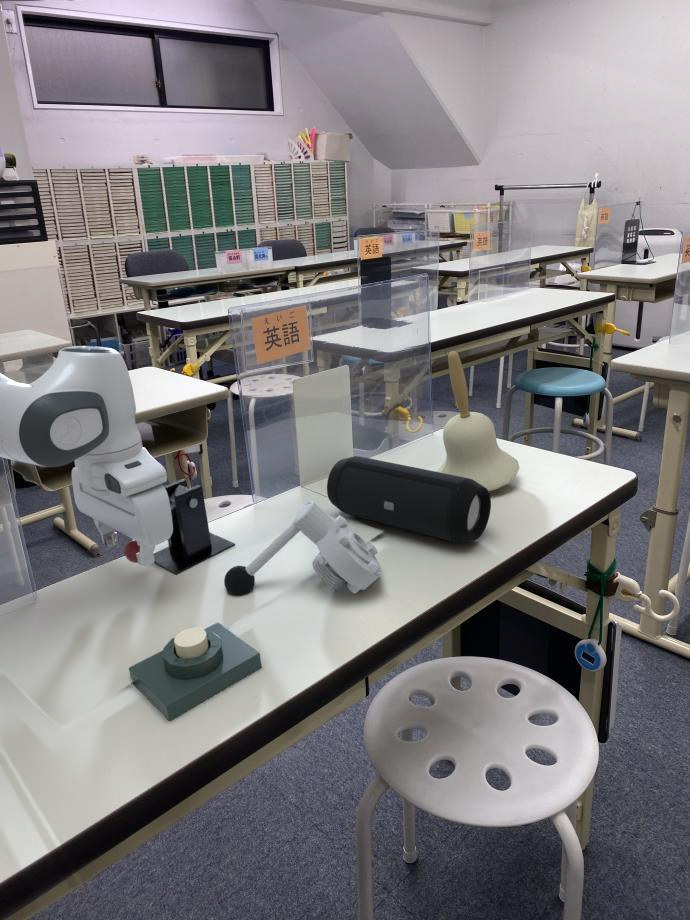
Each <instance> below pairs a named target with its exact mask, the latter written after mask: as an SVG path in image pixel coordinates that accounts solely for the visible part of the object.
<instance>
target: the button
mask: <svg viewBox="0 0 690 920" xmlns="http://www.w3.org/2000/svg"><path fill="white" fill-rule="evenodd" d="M174 637H175V638H174ZM174 637H173V638H174V643H175V648H176V653H177V656H178V657H180V658H182V659H192V658H198V657H199V656H201V655H203V654H205V653H206V652H207V650H208V640H207V635H206V632H205V631H204V628H200V627H189V628H185V629H183V630H181V631H179V632H178V633H176V635H175V636H174Z"/></svg>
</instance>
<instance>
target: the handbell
mask: <svg viewBox="0 0 690 920" xmlns="http://www.w3.org/2000/svg"><path fill="white" fill-rule="evenodd" d="M447 362H448V371H449V379H450V385H451V390H452V394H453V396H454V400H455V402H456V405H457V407H458V408H457V409H458V410H459V413H458V414H456V415H455V416H453V417H451V418H450V419H448V421H447V422H446V423H445V424H444V426H443V429H442V439H443V445H444V448H445V449H444V450H445V453H446V456H445V460H444V461H443V462H442V463H441V464H440V467H438V469H437V471H436V472H440V473H445V474H450V475H455V476H460V477H465V478H470V479H473V480H474V481H476V482H478V483H479V484H481V485H482V486H484V487H485V488H487V490H488V491H489V492H492V491H495V490H497V489H500V488H502V487H505V486H506V485H508V484H509V483H511V481H513V479H516V477H517V474H518V472H519V470H520V464H519V461H518V460H517V459H516V458H515V457H514V456H512V455H511V454H509V453H508V452H507V451H505V450H502V449H501V448H500V447H499V444H498V441H497V435H496V429H495V425H494V423H493V421H492V420H491V418H490V417H489V416H487V415H485V414H483V413H481V412H476V411H469V393H468V392H469V391H468V384H467V380H466V375H465V371H464V368H463V364H462V361H461V358H460V355H459V353H458V352H457V351H455V350H451V351H450V352H449V353H448V355H447Z"/></svg>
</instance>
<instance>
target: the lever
mask: <svg viewBox="0 0 690 920" xmlns="http://www.w3.org/2000/svg"><path fill="white" fill-rule="evenodd" d="M187 489H189V488H186V487H184V486H181V485H179V486H178V487H177V488H176V489H175V491H174V492H173V493H172V494H171V495H170V496H169V501H170V502H171V504H170V508H171V515H172V517H173V516H174V514H175V513H176V512H177V511H176V506H175V500H174V495H175V494H177V493H180V492H182V491H184V490H187ZM123 551H124V552H123V553H124V556H125V558H126V560H128V561H129V562H130V563H133V564H139V563H138V559H137V555H136V553H139V552H140V546H138V544H137V541H136V540H134V539H131V540H130V541H128V542H127V543H126V545H125V547H124V550H123Z"/></svg>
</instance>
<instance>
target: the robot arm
mask: <svg viewBox="0 0 690 920" xmlns="http://www.w3.org/2000/svg"><path fill="white" fill-rule="evenodd" d="M136 412H137V405H136V399H135V395H134V389H133V385H132V381H131V376H130V372H129V369H128V366H127V364H126V362H125V360H124V358H123V355H122V354H121V353H120V352H119V351H117V350H116V349H114V348H111V347H108V346H107V347H105V346H96V345H94V346H92V345H72V346H71V345H70V346H67V347H66V346H65V347H64V348H62V349H59V351H58V354H57V357H56V359H55V360H54V362H53V363H52V364H51V366H50V367H49V368H48V369H47V370H46V371H45V372H44V373H42V375H41V376H39V377H38V378H37V379H36V380H34V381H33V382H31V383H23V382H18V381H15V380H13V379H11V378H8V377H7V376H5V375H4V374H2V373H1V372H0V458H1V459H7V460H11V461H15V462H19V463H23V464H30V465H33V466H38V467H41V468H58V467H63V466H66V465H68V464H70V463H72V462H74V467H72V469H71V483H72V484H71V485H72V491H73V497H74V498H73V499H74V503H75V505H76V508H77V509H78V511H79V512H80V513H82V514H84V515H86V516H88V517H90V518H92V519H93V520H92V521H93V524H94V525H95V527H96V529H97V530H98V533H99V534H100V536H101V542H102V544H103V545H104V546H107V547H108V548H112V547H114V546H117V545H118V544H119V541H120V540H119V535H118V532H119V533H121V534H123V535H125V536H126V537H128V538H130V539H131V540H136V541H137V544H138V546H140V552H139V553H136V555H137V559H138V563H137V564H139V565H140V566H142V567H144V568H147V567H150V566H151V565H153V564H154V561H155V559H154V553H155V552H154V551H155V548H156V546H158V545H160V544H162V543H164V542H167V541H168V539H170V537H171V535H172V533H173V523H172V515H171V508H170V502H169V497H168V494H167V491H166V489H165V487H164V486H165V485H164V483H166V482H167V481H168V475H167V474H168V473H167V471H166V468H165V467H164V466H163V465H162V464H161V463H160V462H159V461H157V460H156V459H155V458H154V457H153V456H152V454H150V453H149V451H148V449H146V447H143V440H142V435H141V433H140V431H139V429H138V426H137V422H136ZM116 531H117V532H116Z"/></svg>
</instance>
